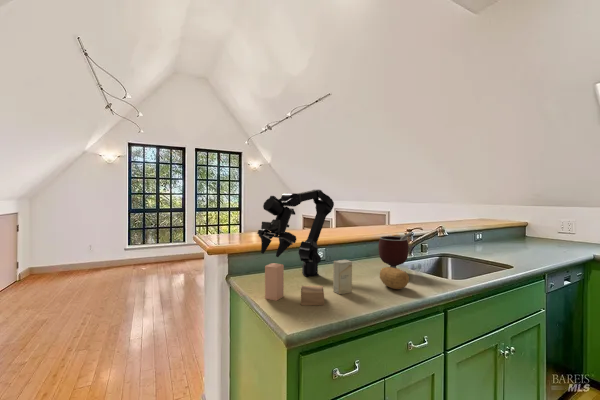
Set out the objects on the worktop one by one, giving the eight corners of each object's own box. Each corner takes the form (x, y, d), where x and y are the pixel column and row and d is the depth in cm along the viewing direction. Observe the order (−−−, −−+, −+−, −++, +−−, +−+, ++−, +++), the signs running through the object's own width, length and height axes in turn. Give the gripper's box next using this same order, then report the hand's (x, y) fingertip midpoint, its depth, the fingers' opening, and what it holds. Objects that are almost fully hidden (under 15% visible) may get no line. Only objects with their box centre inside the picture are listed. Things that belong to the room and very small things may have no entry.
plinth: (301, 296, 106) (301, 285, 106) (322, 296, 106) (322, 285, 106) (300, 305, 98) (300, 292, 98) (324, 305, 98) (324, 292, 98)
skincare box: (339, 294, 108) (339, 263, 108) (332, 291, 112) (332, 260, 112) (352, 292, 111) (352, 261, 111) (345, 288, 115) (345, 259, 115)
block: (272, 294, 109) (272, 263, 109) (283, 296, 107) (283, 264, 106) (265, 298, 105) (264, 266, 104) (276, 300, 102) (276, 267, 102)
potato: (391, 281, 125) (391, 263, 125) (415, 291, 112) (415, 271, 112) (373, 284, 121) (373, 265, 121) (395, 295, 108) (395, 274, 108)
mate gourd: (378, 276, 133) (379, 233, 133) (377, 268, 147) (378, 229, 146) (414, 278, 129) (414, 234, 129) (409, 270, 143) (410, 230, 142)
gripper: (255, 211, 122) (241, 245, 117) (285, 213, 109) (271, 252, 105) (272, 221, 130) (260, 254, 125) (302, 224, 117) (290, 261, 112)
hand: (269, 255), depth 116 cm, fingers open, 9 cm apart
